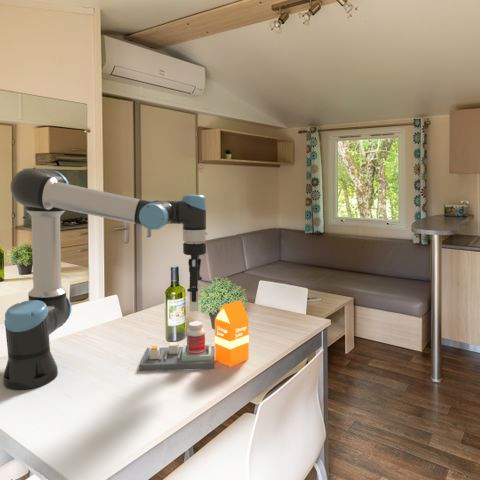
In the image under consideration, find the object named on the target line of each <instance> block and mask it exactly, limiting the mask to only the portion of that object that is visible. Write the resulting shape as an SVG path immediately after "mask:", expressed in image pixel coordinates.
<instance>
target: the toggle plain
mask: <svg viewBox="0 0 480 480" xmlns="http://www.w3.org/2000/svg"><path fill="white" fill-rule="evenodd" d="M168 347H169V354H178V351H179V347H180V346H179V342H177V341H175V342H174V341H173V342H171V341H170V342H169V344H168Z"/></svg>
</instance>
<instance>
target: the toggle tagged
mask: <svg viewBox="0 0 480 480" xmlns="http://www.w3.org/2000/svg"><path fill="white" fill-rule="evenodd" d="M149 348H150V350H149V357H150V359H159V357H160V348H161V347H160V346H158V345H157V346H156V345H155V346H151V347H149Z"/></svg>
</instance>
